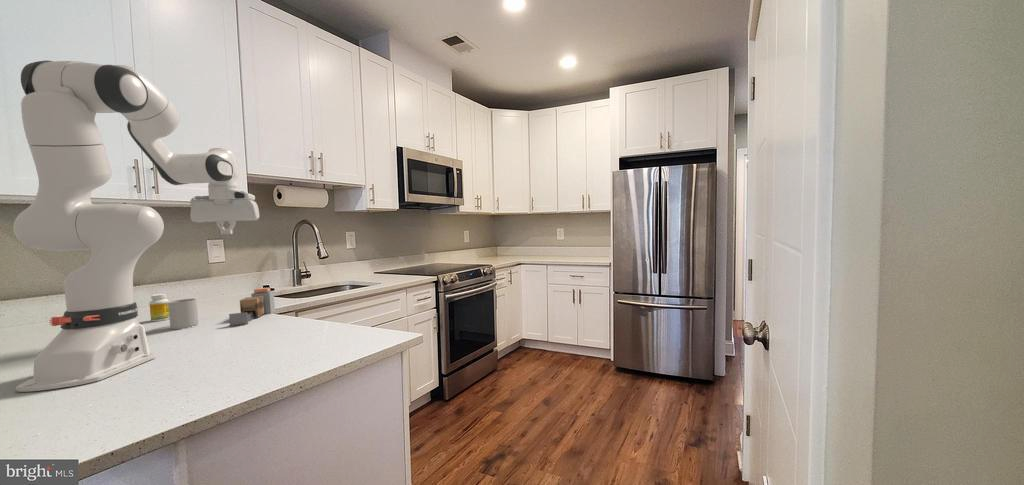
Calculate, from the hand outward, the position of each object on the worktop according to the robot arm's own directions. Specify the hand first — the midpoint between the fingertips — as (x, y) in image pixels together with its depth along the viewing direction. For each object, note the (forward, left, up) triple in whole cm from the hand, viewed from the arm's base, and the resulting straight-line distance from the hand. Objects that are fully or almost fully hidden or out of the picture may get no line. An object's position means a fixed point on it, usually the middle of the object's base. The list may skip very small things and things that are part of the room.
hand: (226, 234), depth 134 cm
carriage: (0, -6, -31) cm, 31 cm away
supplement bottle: (+12, +28, -31) cm, 43 cm away
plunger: (+6, -8, -27) cm, 28 cm away
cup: (-4, +13, -31) cm, 34 cm away
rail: (-4, -6, -31) cm, 32 cm away
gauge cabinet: (+6, -8, -31) cm, 32 cm away
